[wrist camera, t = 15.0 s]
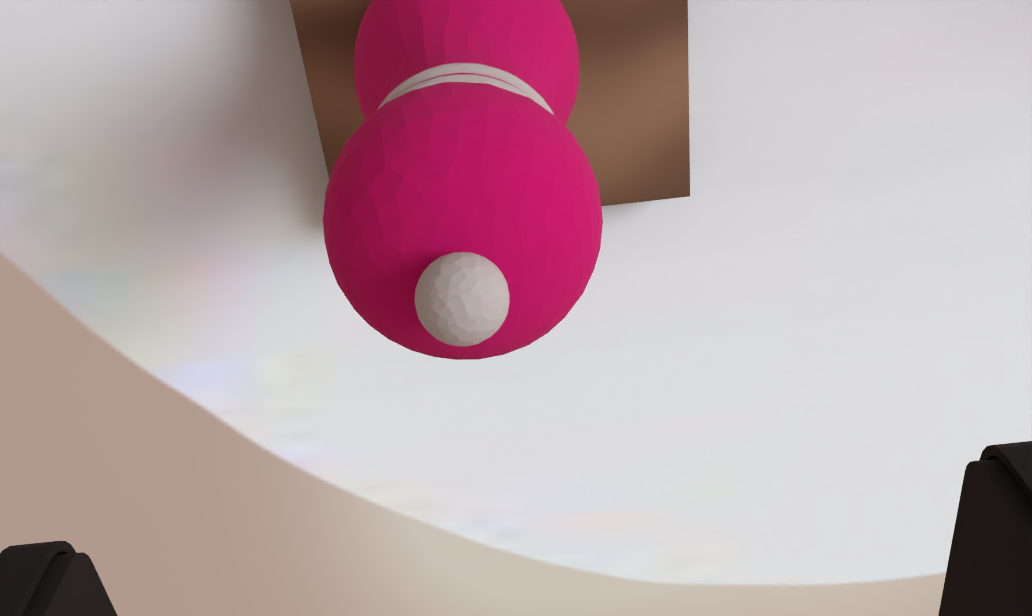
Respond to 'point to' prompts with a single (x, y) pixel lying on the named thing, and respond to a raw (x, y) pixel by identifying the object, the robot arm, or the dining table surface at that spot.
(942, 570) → the dining table surface
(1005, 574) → the robot arm
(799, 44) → the dining table surface
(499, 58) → the pepper mill
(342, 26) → the walnut board
